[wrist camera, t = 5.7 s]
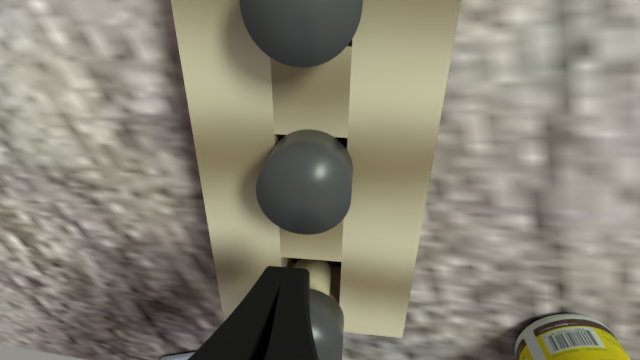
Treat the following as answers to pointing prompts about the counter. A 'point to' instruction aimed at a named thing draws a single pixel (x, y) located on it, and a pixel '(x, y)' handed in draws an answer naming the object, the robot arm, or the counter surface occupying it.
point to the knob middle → (306, 182)
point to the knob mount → (330, 117)
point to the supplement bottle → (568, 340)
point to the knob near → (301, 28)
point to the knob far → (324, 311)
